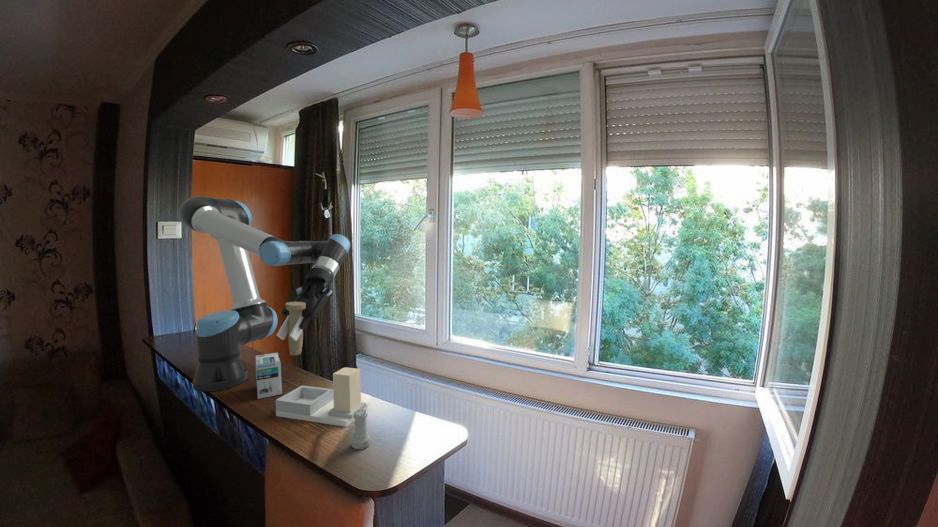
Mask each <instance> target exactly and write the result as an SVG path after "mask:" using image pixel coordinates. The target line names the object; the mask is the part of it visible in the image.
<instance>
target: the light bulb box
mask: <svg viewBox="0 0 938 527" xmlns="http://www.w3.org/2000/svg"><path fill="white" fill-rule="evenodd" d="M254 357H255V377H256V378H255V379H256V380H255V381H256V392H257V399H258V400H260V399H264V398H270V397H274V396H279V395H282V394H283V392H282V391H283V388H282V385H283V384H282V366H281V359H280V357H279V352H273V353H271V352H270V353H266V354H265V353H264V354H258V355H255V356H254Z"/></svg>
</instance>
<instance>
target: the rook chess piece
mask: <svg viewBox="0 0 938 527" xmlns="http://www.w3.org/2000/svg"><path fill="white" fill-rule="evenodd" d="M367 417H368V413H367V410H364V409H362V411H360V409H359V410H358V412H357V411H355V414H354V416H353V418H354V419H355V420H354V426H355V427H354V428H355V430H354V433H353V436H352V437H351V444H350V446H351V447H352V448H353V449H354V450H364V449H366V448H367V447H369V446H370V444H371V443H372V441H371V435H370V433H369V432H368V428H367V422H368V420H367Z"/></svg>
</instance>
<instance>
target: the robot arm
mask: <svg viewBox="0 0 938 527" xmlns="http://www.w3.org/2000/svg"><path fill="white" fill-rule="evenodd" d="M178 216H179V219H180V221H181V222H182V224H183V225H185V227H187V228H188V229H190V230H193V231H195V232H197V233H200V234H209V235H210V236H211V237H210V238H212V240H215V241H217V245H218V248H219V253H220V256H221V261H222V263H223V264H222V265H223V268H224V272H225V276H226V280H227V284H228V287H229V291H230V296H231V300H232V303H233V304H232V306H231V308H230V309H229V310H221V311H216V312H212V313H208V314H206V315H204V316H201V317H200V318H199V319H198V320H197V322H196V330H195V335H196V343H197V345H196V346H197V366H196V370H195V373H194V376H193V379H192V390H194V391H196V392H203V393H204V392H206V393H207V392H214V391H215V392H216V391H222V390H226V389H229V388H234V387H236V386H239V385H241V384H242V383H244V382H245V381H247V379H248V370H247V368H246V366H245V363H244V361H243V359H242V356H241V346H244V345H247V344H251V343H253V342H257V341H260V340H264V339H265V338H267V337H269V336H271V335H272V334H274V332H275V330H276V329H277V326H278V315H277V313H276V310H275V309H273V308H272V307H270V306H268V305H267V301H266V300H264V299H262V298H261V297H260V293H259V288H258V284H257V280H256V276H255V273H254V268H253V265H252V260H251V258H250V257H251V256H250V254H254V255H255V256H258V257H259V259H260V260H261V261H262V263H263V264H264V265H266V266H270V267H273V266H274V267H281V266H282V267H283V266H287V265H301V264H311V263H312V264H313V265H312V267H311V268H310V270H309V272H308V273H307V275H306V278H305V282H304V283H303V284H302V285H301V287H296V286H294V287H293V288H292V292H291V294H290V296H289V298H288V299H287V302H304V303H306V308H305V309H304V312H302V316H300V317H299V319H298V321H297V323H296V325H295V326H294V328H293V330H292V332H291V333H290V335H289V336H290V337H291V338H292V339H293V340H294V341H297V339H298V338H299V336H300V334H301V332H302V330H303V331H304V330H305V329H306V328H307V326H308V324H309V322H310V321H312V320H313V319H314V320H317V319H318V318H319V316H320V314H321V313H322V311H323V310H324V307H325V306H326V304H327V302H328V301H329V299H330V298H331V297H332V296H333V295H334V292H333V291H332V289H331V288H330V287H331V284H333V281H334V278H335V277H336V275H337V273H338V272H339V269H340V268H341V265H342V264H343V262H344V260H345V259H346V256H348V253H349V251H350V248H351V242H350V240H349V238H347V237H346V236H344V235H343V234H341V233H340V234H339V233H334V234H332V235H330V237H329V238H328V240H320V241H319V240H317V241H315V240H299V241H293V240H292V241H291V240H283V239H280V238H278V237H275V236H274V235H272V234H269V233H266V232H265V231H263V230H260V229H258V228H256V227H253V226H251V225H252V224H251V223H252V219H253V218H252V217H253V216H252V212H251V211H250V209H249V207H248V206H247V205H246V204H244V203H243V202H241V201H239V200H234V199H231V198H230V199H229V198H219V197H218V198H217V197H210V196H209V197H208V196H204V195H203V196H202V195H198V196H197V195H196V196H191V197H189V198H187V199H185V200H184V201H183V202H182V203H181V204H180V206H179V209H178ZM287 302H286V303H287ZM281 314H283V316H284V319H283V321H282V322H281V323H280V328H279V330H278V331H277V333H276V336H277V337H278V338H279V339H280V340H281V341H284V340H285V339H286V337H288V329H289V311H288V310H287V309H286V304H284V306H283V309H282V310H281Z"/></svg>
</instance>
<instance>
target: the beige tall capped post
mask: <svg viewBox="0 0 938 527" xmlns="http://www.w3.org/2000/svg"><path fill="white" fill-rule="evenodd" d="M285 305H286V309H287V310H288V311H289V329H288V334H287V340H288V342H287V343H288V350H289V351H288V352H289V355H290V356H299V355H301V353H302V350H303V349H302V348H303V342H304V341H303V340H304V329H303V330H302V332H301V334H300V336H299V338H298V339H297V341H294V340H293V339H292V338H291V337H290V336H289V335H290V333H291V332H292V330H293V328H294V326H295V325H296V323H297V321H298V319H299V317H300V316H303V315H302V313H303V310H304V311H305V310H306V307H307V302H306V303H304V302H285Z"/></svg>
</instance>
